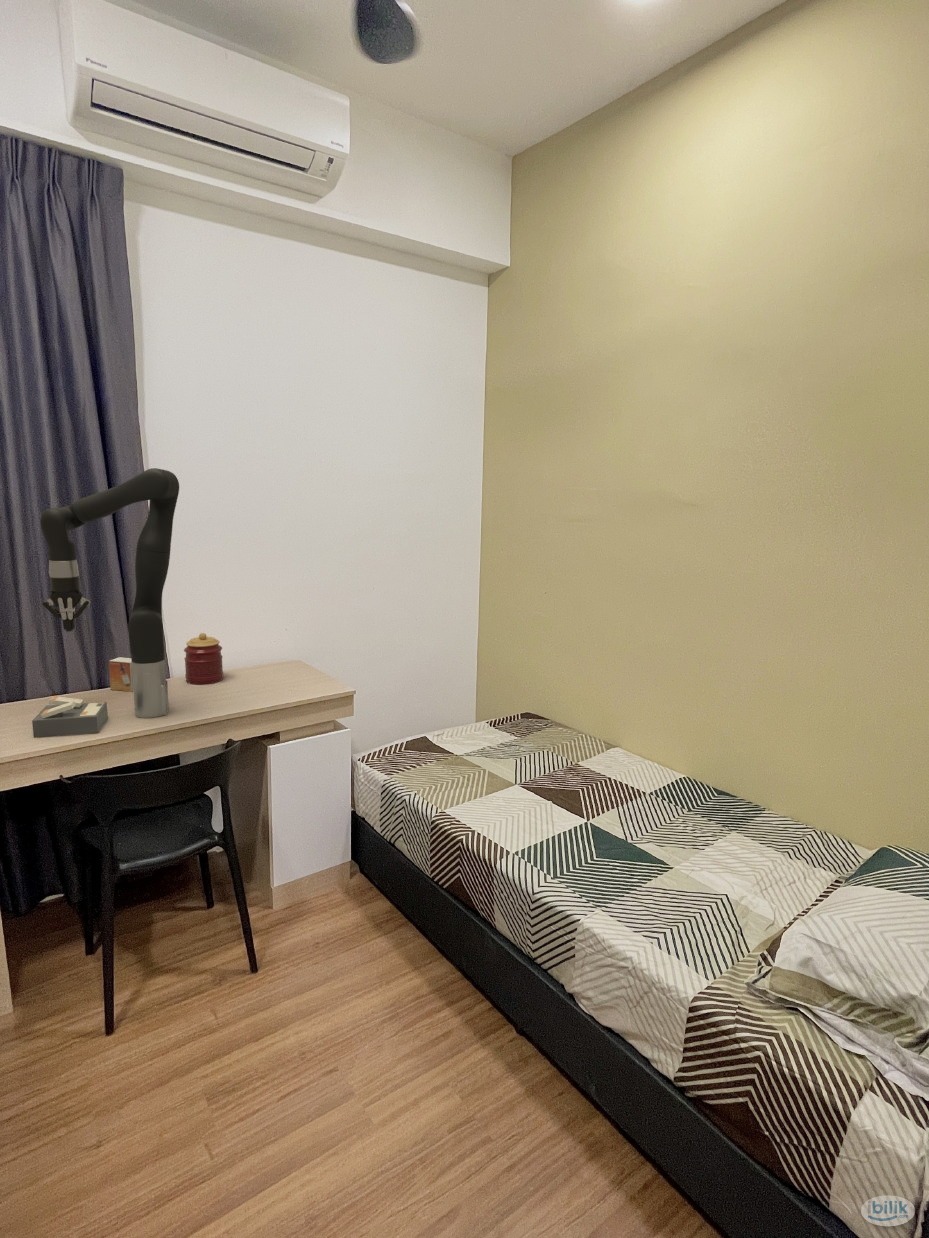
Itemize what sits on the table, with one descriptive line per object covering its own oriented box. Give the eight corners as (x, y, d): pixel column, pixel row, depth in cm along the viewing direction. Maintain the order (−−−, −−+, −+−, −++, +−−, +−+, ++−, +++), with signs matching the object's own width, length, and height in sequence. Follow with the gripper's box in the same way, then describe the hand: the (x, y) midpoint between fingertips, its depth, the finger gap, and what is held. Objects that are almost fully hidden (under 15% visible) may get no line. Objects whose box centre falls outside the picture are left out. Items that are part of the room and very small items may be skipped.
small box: (110, 690, 223) (108, 660, 221) (121, 685, 229) (119, 656, 227) (131, 692, 222) (129, 662, 220) (142, 687, 228) (140, 658, 225)
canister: (195, 674, 245) (193, 628, 242) (229, 675, 245) (227, 630, 241) (179, 684, 232) (176, 636, 229) (214, 685, 232) (212, 637, 228)
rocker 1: (82, 703, 194) (83, 699, 194) (79, 707, 191) (80, 703, 190) (52, 699, 191) (53, 695, 191) (48, 703, 188) (49, 699, 188)
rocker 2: (75, 704, 187) (74, 700, 186) (72, 708, 184) (70, 704, 183) (46, 714, 185) (44, 710, 185) (42, 718, 182) (40, 714, 181)
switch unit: (107, 717, 198) (106, 699, 197) (98, 733, 186) (96, 714, 185) (47, 721, 193) (46, 703, 192) (33, 737, 181) (31, 718, 180)
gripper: (91, 573, 201) (96, 627, 204) (42, 573, 197) (48, 629, 200) (86, 576, 194) (91, 632, 197) (35, 576, 190) (41, 634, 193)
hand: (69, 630), depth 199 cm, fingers closed
